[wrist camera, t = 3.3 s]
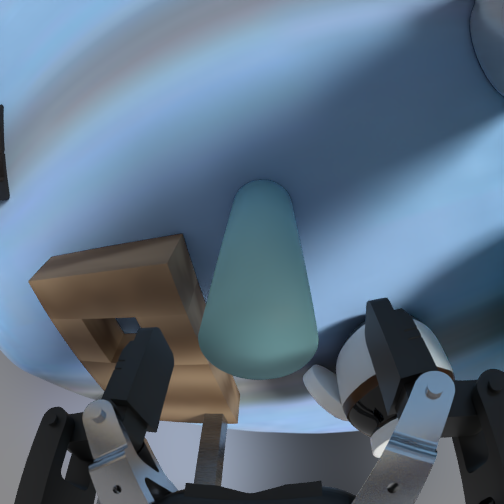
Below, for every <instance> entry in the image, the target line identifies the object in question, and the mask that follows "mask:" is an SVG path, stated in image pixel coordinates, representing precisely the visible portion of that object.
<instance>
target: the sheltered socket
mask: <svg viewBox="0 0 504 504" xmlns="http://www.w3.org/2000/svg"><path fill="white" fill-rule="evenodd" d="M28 282H29V284H30V286H31V287H32V289H33V291H34V293H35V294H36V296H37V298H38V300H39V301H40V303H41V305H42V306H43V308H44V310H45V311H46V313H47V314H48V316H49V318H50V319H51V321H52V322H53V324H54V325H55V327H56V328H57V330H58V331H59V333H60V334H61V336H62V337H63V338H64V340H65V341H66V343H67V344H68V346H69V347H70V348H71V350H72V351H73V352H74V354H75V355H76V356H77V358H78V359H79V360H80V362H81V363H82V364H83V366H84V367H85V368H86V369H87V371H88V372H89V373H90V374H91V376H92V377H93V378H94V379H95V380H96V382H97V383H98V384H99V385H100V386H101V388H102V389H103V390H104V391H105V389H106V387H107V384H108V382H109V380H110V377H111V375H112V373H113V370H115V366H116V363H117V362H118V359H119V357H120V354H121V352H122V350H123V349H124V348H125V346H126V345H127V344H128V343H129V342H130V341H134V339H135V336H136V334H137V333H131V334H124V332H123V331H122V329H121V327H120V326H119V324H118V322H117V320H116V319H115V318H131V317H135V318H136V320H137V321H138V323H139V325H140V327H141V328H149V327H158V328H159V329H160V330H161V332H162V334H163V335H164V337H165V339H166V341H167V343H168V345H169V347H170V349H171V350H172V352H173V356H174V368H173V371H172V375H171V379H170V382H169V386H168V390H167V394H166V397H165V401H164V405H163V409H162V413H161V417H160V421H172V422H187V423H203V427H202V433H201V439H200V446H199V452H198V459H197V466H196V473H195V479H194V484H204V485H217V486H221V481H222V471H223V461H224V450H225V441H226V432H227V424H235V423H238V413H239V401H240V393H239V391H238V388H237V386H236V383H235V381H234V378H233V376H232V375H230V374H228V373H225V372H223V371H221V370H220V369H218V368H216V367H215V366H214V365H212V364H211V363H210V362H209V361H208V360H207V359H206V358H205V356H204V355H203V353H202V351H201V349H200V347H199V342H198V334H199V330H200V326H201V322H202V318H203V314H204V310H205V306H206V303H205V301H204V298H203V295H202V292H201V289H200V286H199V283H198V280H197V277H196V274H195V271H194V268H193V265H192V262H191V259H190V256H189V253H188V249H187V246H186V243H185V240H184V237H183V234H177V235H171V236H164V237H158V238H152V239H146V240H141V241H135V242H129V243H123V244H118V245H112V246H106V247H101V248H96V249H90V250H85V251H79V252H74V253H69V254H64V255H59V256H54V257H51V258H50V259H49V260H48V261H47V262H46V263H45V264H44V265H43V266H42V267H41V268H40V269H39V270H38V271H37V272H36V273H35V274H34V276H33V277H32V278H31V279H30V280H29V281H28ZM97 504H101V503H100V500H99V498H98V500H97Z"/></svg>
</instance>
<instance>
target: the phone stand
mask: <svg viewBox="0 0 504 504" xmlns="http://www.w3.org/2000/svg"><path fill="white" fill-rule="evenodd" d="M3 112H4V107H3V105H0V200H7V199H9V196H10V194H9V187H8V180H7V171H6V161H5V154H4V153H3V152H4V150H5V148H4V120H3Z"/></svg>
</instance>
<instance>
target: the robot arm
mask: <svg viewBox="0 0 504 504" xmlns="http://www.w3.org/2000/svg"><path fill="white" fill-rule="evenodd" d="M470 32H471V37H472V43H473V46H474V49H475V53H476V56H477V58H478V60H479V63H480V65H481V68H482V69H483V71H484V73H485V75H486V77H487V78H488V80H489V81H490V82H491V84H492V85H493V87H494V88H495V89H496V90H497V91H498V92H499V93H500V94H501V95H502V96H503V97H504V0H475V5H474V8H473V10H472V12H471V18H470ZM365 340H366V345H367V348H368V351H369V354H370V358H371V361H372V364H373V367H374V370H375V373H376V377H377V380H378V383H379V387H380V390H381V393H382V397H383V400H384V404H385V408H386V411H387V415H392V414H396V413H397V417H398V420H399V422H398V424H397V426H396V428H395V430H394V432H393V434H392V436H391V438H390V440H389V442H388V444H387V446H386V447H385V449H384V451H383V453H382V455H381V457H380V458H379V460H378V462H377V464H376V465H375V467H374V469H373V471H372V472H371V474H370V476H369V477H368V479H367V480H366V482H365V484H364V485H363V487H362V488H361V490H360V491H359V493H358V494H357V496H355V495H353V494H351V493H349V492H346V491H344V490H341V489H338V488H332V487H325V486H322V484H321V481H316V482H308V483H298V484H287V485H283V486H280V487H276V488H272V489H268V490H265V491H261V492H257V493H244V492H240V491H236V490H232V489H228V488H224V487H221V486H217V485H204V484H192V483H186V487H185V489H184V490H180V491H178V490H177V488H176V487H175V486H174V484H173V483H172V482H171V481H170V480H169V479H168V478H167V476H166V475H165V474H164V472H163V470H162V469H161V467H160V465H159V463H158V461H157V459H156V457H155V456H154V454H153V452H152V450H151V448H150V446H149V444H148V442H147V440H146V439H145V438H144V437H145V434H146V431H148V432H157V428H158V424H159V421H160V417H161V413H162V409H163V405H164V401H165V397H166V394H167V390H168V386H169V382H170V379H171V375H172V371H173V368H174V356H173V352H172V350H171V349H170V347H169V345H168V343H167V341H166V339H165V337H164V335H163V334H162V332H161V330H160V329H159V328H158V327H149V328H140V329H139V330H138V332H137V334H136V336H135V339H134V341H130V342H129V343H128V344H127V345H126V346H125V348H124V349H123V350H122V352H121V354H120V357H119V359H118V362H117V363H116V366H115V370H113V373H112V375H111V377H110V380H109V382H108V384H107V387H106V389H105V392H104V394H103V397H102V399H101V400H96V401H93V402H92V403H90V404H89V405H88V406H87V407H86V409H85V410H84V412H82V413H76V414H68V413H67V412H66V411H65V410H64V409H63V408H61V407H54V408H51V409H49V410H48V411H47V412H46V413H45V414H44V416H43V418H42V421H41V423H40V426H39V428H38V431H37V433H36V436H35V439H34V441H33V444H32V447H31V450H30V453H29V456H28V458H27V461H26V464H25V468H24V471H23V474H22V477H21V481H20V484H19V488H18V491H17V495H16V499H15V503H14V504H94V500H95V494H96V493H97V495H98V498H99V500H100V503H101V504H414V503H415V501H416V500H417V498H418V496H419V494H420V492H421V490H422V488H423V486H424V484H425V482H426V480H427V477H428V475H429V473H430V471H431V469H432V466H433V464H434V462H435V459H436V456H437V451H436V448H437V445H438V442H439V439H440V438H441V437H452V439H453V443H454V448H455V451H456V456H457V460H458V464H459V469H460V473H461V479H462V483H463V489H464V495H465V502H466V504H504V372H502V371H500V370H497V369H490V370H487V371H485V372H483V373H482V374H481V375H480V377H479V379H478V380H467V381H456V380H452V379H451V378H450V377H449V376H448V375H447V374H445V373H443V372H440V371H439V370H438V368H437V366H436V364H435V362H434V360H433V358H432V356H431V354H430V352H429V350H428V348H427V346H426V344H425V342H424V340H423V338H422V337H421V334H420V332H419V330H418V329H417V326H416V324H415V322H414V320H413V318H412V317H411V316H410V315H409V314H408V313H407V312H405V311H404V310H403V309H402V308H401V309H397V310H394V309H393V307H392V305H391V303H390V301H389V300H388V298H381V299H376V300H371V301H368V302H367V306H366V320H365ZM67 450H68V451H69V452H70V453H72V456H71V459H70V462H69V466H68V469H67V473H66V477H65V480H64V479H63V478H62V475H61V468H62V464H63V461H64V458H65V454H66V451H67Z"/></svg>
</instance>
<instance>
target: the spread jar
mask: <svg viewBox="0 0 504 504" xmlns="http://www.w3.org/2000/svg"><path fill="white" fill-rule="evenodd" d="M410 316H411V315H410ZM411 317H412V318H413V320H414V322H415V324H416V326H417V329H418V330H419V332H420V334H421V337H422V338H423V340H424V342H425V344H426V346H427V348H428V350H429V352H430V354H431V356H432V358H433V360H434V362H435V364H436V366H437V368H438V370H439V371H440V372H443V373H445V374H447V375H448V376H449V377H450V378H451V379H452V380H455V377H454V373H453V370H452V367H451V365H450V362H449V360H448V358H447V356H446V354H445V352H444V350H443V348H442V346H441V344H440V342H439V341H438V339H437V338H436V336H435V335H434V333H433V332H432V331H431V330H430V329H429V328H428V327H427V326H426V325H425V324H424V323H422V322H421V321H420V320H418V319H416V318H415V317H413V316H411ZM303 381H304V384H305V386H306V388H307V390H308V391H309V393H310V394H311V396H312V397H313V398H314V399H315V400H316V402H317V403H318V404H319V405H320V406H321V407H323V408H324V409H325V410H326V411H327V412H329V413H330V414H332V415H333V416H335V417H336V418H338V419H341V420H344V421H349V422H350V423H351V424H352V425H353V426H354V427H355V428H356V429H358V430H359V431H360V432H362V433H364V434H366V435H367V436H369V437H371V440H370V441H371V447H372V452H373V455H374V456H375V457H378V458H380V457H381V455H382V453H383V451H384V449H385V447H386V446H387V444H388V442H389V440H390V438H391V436H392V434H393V432H394V430H395V428H396V426H397V424H398V422H399V420H398V417H397V413H396V414H392V415H387V411H386V408H385V404H384V400H383V397H382V393H381V390H380V387H379V383H378V380H377V377H376V373H375V370H374V367H373V364H372V361H371V358H370V354H369V351H368V348H367V345H366V340H365V321H364V322H362V323H361V324H360V325H359V326H358V327H357V328H356V329H355V330H354V331H353V332H352V333H351V334H350V335H349V337H348V338H347V340H346V341H345V343H344V344H343V346H342V348H341V350H340V353H339V356H338V358H337V364H336V375H335V374H334V373H333V372H331V371H330V370H328V369H327V368H325V367H323V366H320V365H313V366H312V367H311V368H310V369H309V370H308V371H307V372H306V373H305V374H304V376H303Z"/></svg>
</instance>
